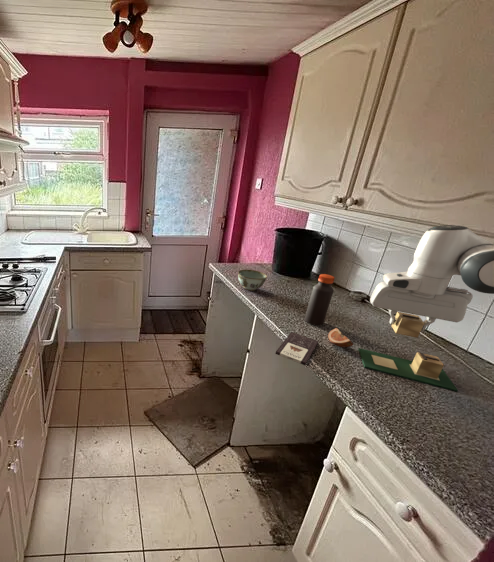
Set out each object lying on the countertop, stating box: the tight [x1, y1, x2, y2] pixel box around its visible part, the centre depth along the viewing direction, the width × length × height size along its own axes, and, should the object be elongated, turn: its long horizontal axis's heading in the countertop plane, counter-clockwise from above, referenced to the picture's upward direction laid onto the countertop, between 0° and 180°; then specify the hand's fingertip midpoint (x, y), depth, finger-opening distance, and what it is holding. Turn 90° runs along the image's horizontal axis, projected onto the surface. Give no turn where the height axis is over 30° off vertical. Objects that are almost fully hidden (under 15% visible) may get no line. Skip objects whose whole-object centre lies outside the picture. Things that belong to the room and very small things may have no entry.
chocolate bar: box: [274, 331, 319, 366], centre depth 108 cm, size 9×1×18 cm
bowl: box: [237, 269, 268, 292], centre depth 157 cm, size 14×14×8 cm
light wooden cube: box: [391, 311, 424, 339], centre depth 91 cm, size 5×5×5 cm
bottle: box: [304, 273, 335, 327], centre depth 123 cm, size 7×7×20 cm
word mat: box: [357, 347, 459, 392], centre depth 99 cm, size 22×12×1 cm, turn 62°
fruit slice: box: [327, 327, 354, 348], centre depth 110 cm, size 8×7×5 cm
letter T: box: [411, 351, 445, 379], centre depth 96 cm, size 5×5×5 cm
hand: (406, 326), depth 92 cm, fingers closed on light wooden cube, 5 cm apart
